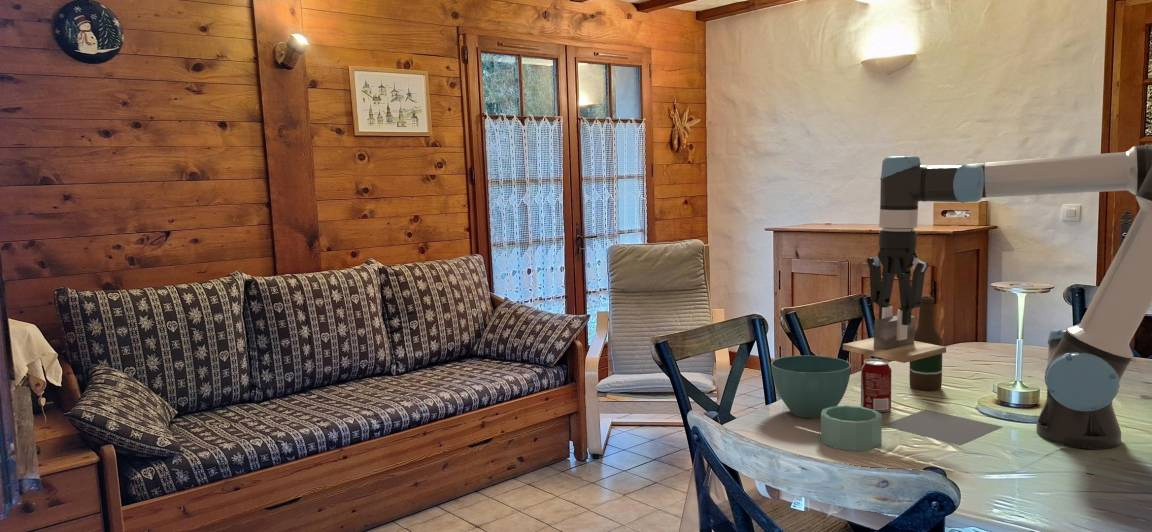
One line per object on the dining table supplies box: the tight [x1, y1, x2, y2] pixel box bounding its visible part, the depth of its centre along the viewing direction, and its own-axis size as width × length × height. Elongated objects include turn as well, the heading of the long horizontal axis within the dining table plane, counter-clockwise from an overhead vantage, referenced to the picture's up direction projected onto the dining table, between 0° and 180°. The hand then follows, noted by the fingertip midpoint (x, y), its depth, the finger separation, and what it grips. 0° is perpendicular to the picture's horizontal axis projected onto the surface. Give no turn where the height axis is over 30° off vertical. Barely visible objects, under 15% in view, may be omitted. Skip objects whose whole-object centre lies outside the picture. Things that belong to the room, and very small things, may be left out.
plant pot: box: [770, 354, 852, 419], centre depth 191 cm, size 18×18×12 cm
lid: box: [842, 315, 947, 364], centre depth 173 cm, size 15×15×7 cm
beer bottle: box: [909, 295, 943, 392], centre depth 210 cm, size 8×8×24 cm
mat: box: [882, 409, 1003, 446], centre depth 178 cm, size 18×18×1 cm
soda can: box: [860, 358, 892, 414], centre depth 192 cm, size 7×7×12 cm
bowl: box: [820, 404, 883, 452], centre depth 171 cm, size 12×12×6 cm
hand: (894, 337), depth 173 cm, fingers closed on lid, 3 cm apart
